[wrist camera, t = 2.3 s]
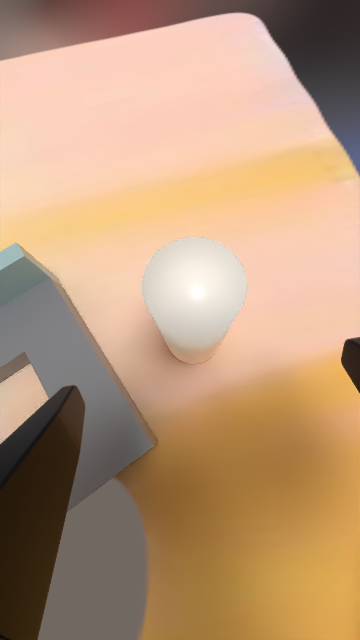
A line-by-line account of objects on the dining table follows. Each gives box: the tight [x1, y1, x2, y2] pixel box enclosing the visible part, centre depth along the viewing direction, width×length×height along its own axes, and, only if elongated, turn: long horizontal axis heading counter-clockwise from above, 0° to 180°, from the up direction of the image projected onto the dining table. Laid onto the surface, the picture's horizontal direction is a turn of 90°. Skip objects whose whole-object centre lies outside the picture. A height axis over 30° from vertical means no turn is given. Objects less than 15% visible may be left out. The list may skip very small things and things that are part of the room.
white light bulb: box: [142, 237, 247, 364], centre depth 15 cm, size 4×4×10 cm
